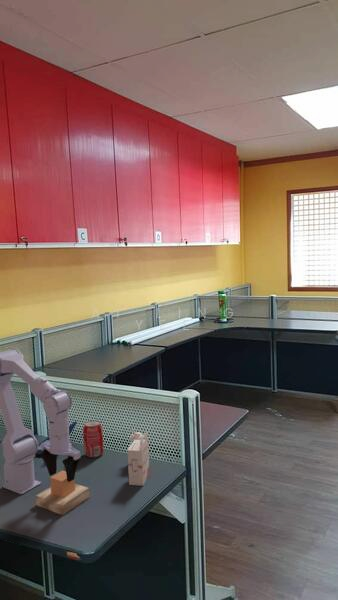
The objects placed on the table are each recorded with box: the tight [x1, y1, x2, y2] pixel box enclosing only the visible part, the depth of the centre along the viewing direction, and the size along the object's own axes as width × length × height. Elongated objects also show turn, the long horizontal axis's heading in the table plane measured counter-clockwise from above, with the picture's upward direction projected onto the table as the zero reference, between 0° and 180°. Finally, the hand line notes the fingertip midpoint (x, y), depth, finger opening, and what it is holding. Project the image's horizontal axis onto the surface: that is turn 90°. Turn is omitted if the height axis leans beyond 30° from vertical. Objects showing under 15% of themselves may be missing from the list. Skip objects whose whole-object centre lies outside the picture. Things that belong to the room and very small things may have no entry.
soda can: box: [82, 419, 104, 458], centre depth 169 cm, size 7×7×12 cm
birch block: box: [35, 483, 90, 516], centre depth 137 cm, size 11×11×4 cm
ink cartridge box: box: [126, 431, 150, 487], centre depth 149 cm, size 9×5×15 cm, turn 168°
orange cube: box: [49, 469, 76, 497], centre depth 137 cm, size 5×5×5 cm
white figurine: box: [129, 428, 144, 443], centre depth 161 cm, size 9×4×12 cm, turn 36°
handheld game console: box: [35, 420, 77, 458], centre depth 175 cm, size 16×13×9 cm
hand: (61, 477), depth 137 cm, fingers open, 7 cm apart
